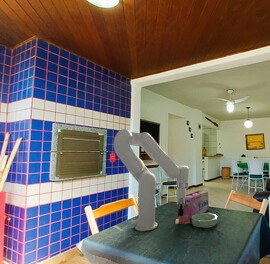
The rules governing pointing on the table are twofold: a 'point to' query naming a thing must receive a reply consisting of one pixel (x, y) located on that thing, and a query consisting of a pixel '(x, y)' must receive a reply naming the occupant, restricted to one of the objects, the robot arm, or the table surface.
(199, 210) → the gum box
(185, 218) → the eraser
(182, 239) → the table surface
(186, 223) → the coaster
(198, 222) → the bowl
